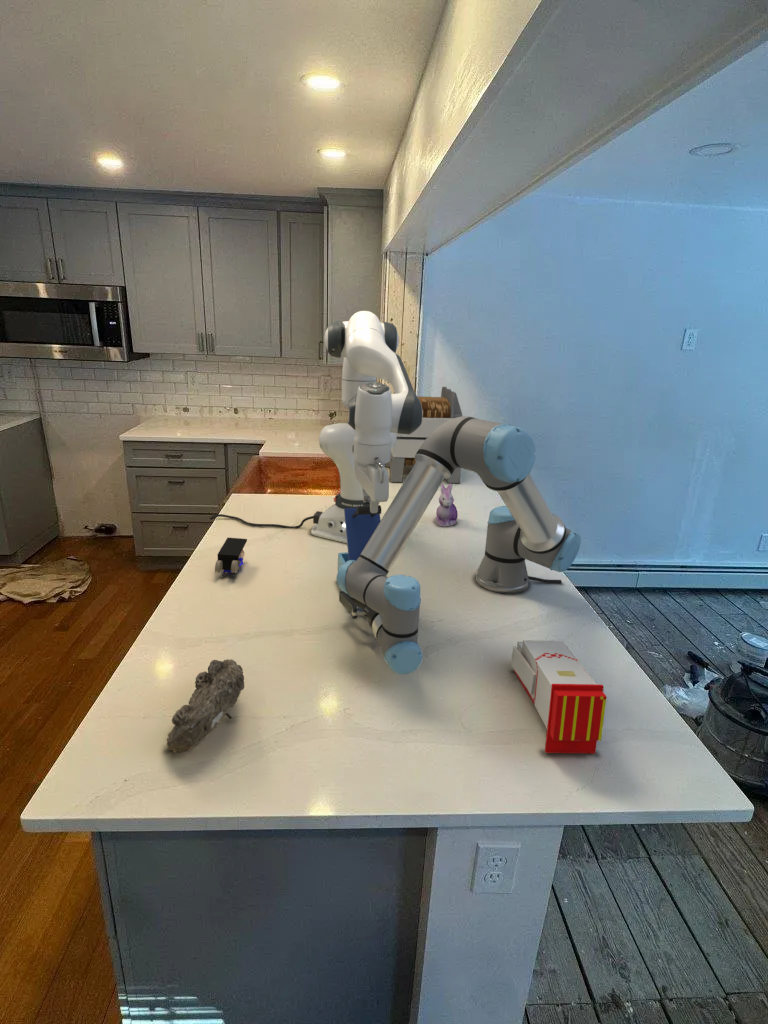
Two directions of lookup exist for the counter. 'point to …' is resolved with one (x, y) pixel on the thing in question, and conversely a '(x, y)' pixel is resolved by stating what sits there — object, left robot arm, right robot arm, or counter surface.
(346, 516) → the lid
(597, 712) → the toy
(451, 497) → the figurine
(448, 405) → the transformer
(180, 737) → the fossil
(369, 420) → the left robot arm
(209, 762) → the counter surface
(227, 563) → the figurine character
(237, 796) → the counter surface
